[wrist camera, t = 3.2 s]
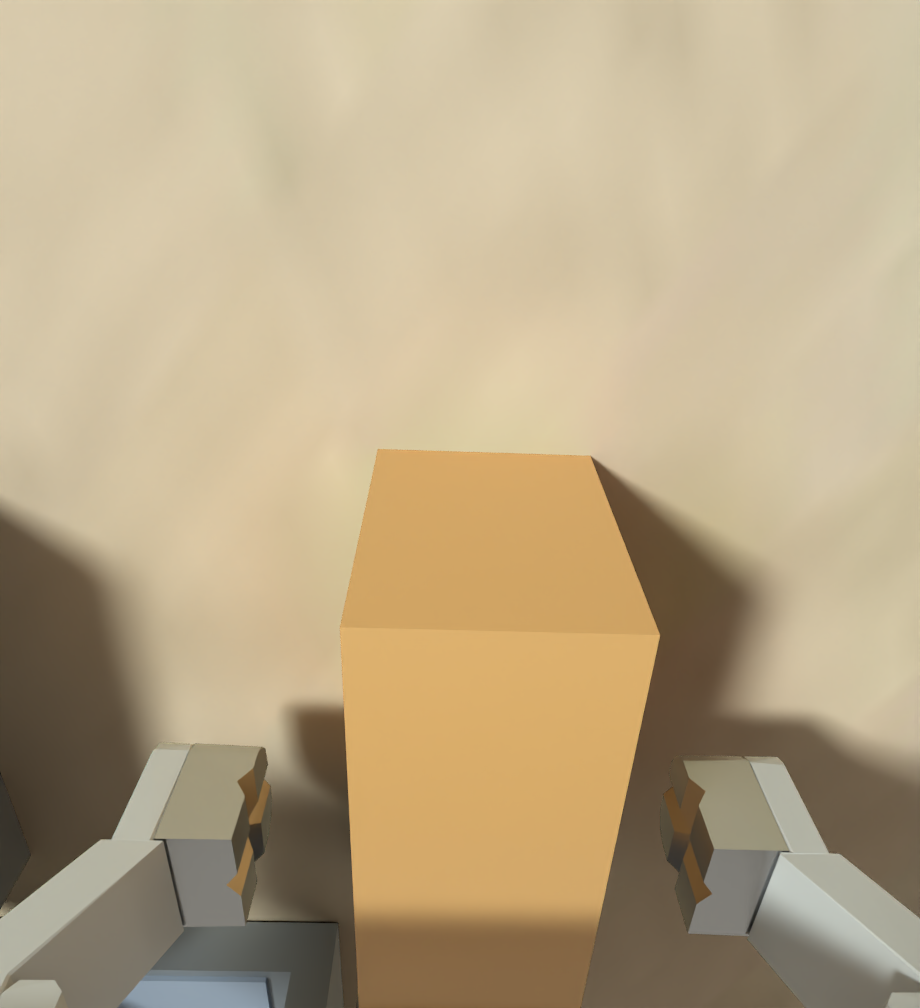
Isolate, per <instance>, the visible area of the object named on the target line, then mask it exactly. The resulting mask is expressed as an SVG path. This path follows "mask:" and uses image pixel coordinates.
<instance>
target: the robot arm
mask: <svg viewBox="0 0 920 1008" xmlns="http://www.w3.org/2000/svg"><path fill="white" fill-rule="evenodd" d="M267 766H268V762H267V755H266V749H265V748H264V747H257V746H236V745H216V744H184V743H160V744H159V745H158V746H157V747H156V748H155V749H154V750H153V751H152V753H151V755H150V758H149V760H148V762H147V764H146V766H145V768H144V770H143V773H142V775H141V777H140V779H139V781H138V783H137V785H136V787H135V790H134V792H133V794H132V796H131V798H130V800H129V802H128V805H127V807H126V809H125V811H124V813H123V815H122V817H121V820H120V822H119V824H118V826H117V828H116V830H115V832H114V835H113V837H112V839H100V840H99V841H98V842H97V843H95V844H94V845H93V846H92V847H90V848H89V849H88V850H87V851H85V852H84V853H83V854H81V855H80V856H79V857H78V858H76V859H75V860H74V861H73V862H71V863H70V864H69V865H68V866H66V867H65V868H64V869H63V870H61V871H60V872H59V873H57V874H56V875H55V876H54V877H52V878H51V879H50V880H49V881H47V882H46V883H45V884H44V885H42V886H41V887H40V888H39V889H37V890H36V891H35V892H33V893H32V894H31V895H30V896H28V897H27V898H26V899H25V900H23V901H22V902H21V903H20V904H18V905H17V906H16V907H15V908H13V909H12V910H11V911H9V912H8V913H7V914H6V915H4V916H3V917H2V918H1V919H0V1008H117V1007H118V1006H119V1005H120V1004H121V1003H122V1001H123V1000H124V999H125V998H126V997H127V996H128V995H129V993H130V992H131V991H132V990H133V989H134V988H135V987H136V985H137V984H138V983H139V982H140V981H141V980H142V978H143V977H144V976H145V975H146V974H147V973H148V972H149V970H150V969H151V968H152V967H153V966H154V965H155V964H156V962H157V961H158V960H159V959H160V958H161V957H162V955H163V954H164V953H165V952H166V951H167V950H168V949H169V947H170V946H171V945H172V944H173V943H174V942H175V941H176V939H177V938H178V937H179V936H180V935H181V934H182V932H183V931H184V929H183V927H216V926H246V923H247V919H248V915H249V911H250V907H251V903H252V900H253V896H254V892H255V888H256V884H257V875H256V868H255V861H256V860H257V859H258V858H259V857H260V856H261V855H262V854H263V853H264V852H265V848H266V844H267V840H268V835H269V829H270V821H271V814H272V795H271V786H270V785H269V784H268V783H267V782H266V781H265V780H264V777H265V773H266V770H267ZM669 776H670V779H671V782H672V786H673V787H672V788H670V789H669V790H668V791H667V792H665V793H664V794H663V799H662V803H661V808H660V831H661V837H662V844H663V848H664V851H665V855H666V859H667V861H668V862H669V863H670V864H671V865H672V866H673V867H674V868H675V869H676V870H677V871H678V872H679V875H678V879H677V883H676V887H675V891H676V894H677V898H678V901H679V905H680V908H681V912H682V915H683V918H684V922H685V925H686V929H687V932H688V934H710V935H732V936H748V939H747V940H748V941H749V942H750V943H751V944H752V945H753V947H754V948H755V949H756V950H757V951H758V953H759V954H760V955H761V956H762V957H763V958H764V960H765V961H766V962H767V963H768V964H769V965H770V967H771V968H772V969H773V970H774V971H775V972H776V974H777V975H778V976H779V977H780V978H781V980H782V981H783V982H784V983H785V984H786V985H787V987H788V988H789V989H790V990H791V991H792V992H793V994H794V995H795V996H796V997H797V998H798V999H799V1001H800V1002H801V1003H802V1004H803V1005H804V1006H805V1008H920V918H919V917H918V916H916V915H915V914H914V913H913V912H911V911H910V910H909V909H908V908H906V907H905V906H904V905H903V904H901V903H900V902H899V901H898V900H896V899H895V898H894V897H893V896H892V895H890V894H889V893H888V892H887V891H885V890H884V889H883V888H882V887H880V886H879V885H878V884H877V883H875V882H874V881H873V880H872V879H870V878H869V877H868V876H867V875H865V874H864V873H863V872H862V871H861V870H859V869H858V868H857V867H856V866H854V865H853V864H852V863H851V862H849V861H848V860H847V859H846V858H844V857H843V856H842V855H841V854H833V853H829V851H828V849H827V847H826V845H825V843H824V841H823V840H822V838H821V836H820V834H819V832H818V830H817V828H816V826H815V824H814V822H813V820H812V818H811V816H810V814H809V812H808V810H807V808H806V806H805V804H804V802H803V800H802V798H801V796H800V794H799V792H798V790H797V789H796V787H795V785H794V783H793V781H792V779H791V777H790V775H789V773H788V771H787V769H786V767H785V765H784V763H783V762H782V761H781V760H780V759H779V758H778V757H753V756H743V757H740V756H695V755H676V756H675V758H674V759H673V760H672V763H671V766H670V770H669Z"/></svg>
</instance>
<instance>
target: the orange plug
mask: <svg viewBox="0 0 920 1008" xmlns="http://www.w3.org/2000/svg"><path fill="white" fill-rule="evenodd" d="M340 638H341V658H342V678H343V698H344V719H345V739H346V759H347V779H348V799H349V819H350V840H351V860H352V880H353V900H354V920H355V940H356V961H357V981H358V995H357V1004H356V1008H581V1004H582V999H583V995H584V990H585V985H586V981H587V976H588V971H589V966H590V962H591V957H592V952H593V948H594V943H595V938H596V934H597V929H598V924H599V920H600V915H601V910H602V906H603V901H604V896H605V891H606V887H607V882H608V877H609V873H610V868H611V863H612V859H613V854H614V849H615V845H616V840H617V835H618V831H619V826H620V821H621V816H622V812H623V807H624V802H625V798H626V793H627V788H628V784H629V779H630V774H631V770H632V765H633V760H634V756H635V751H636V746H637V741H638V737H639V732H640V727H641V723H642V718H643V713H644V709H645V704H646V699H647V695H648V690H649V685H650V681H651V676H652V671H653V667H654V662H655V657H656V652H657V648H658V643H659V638H660V633H659V631H658V628H657V626H656V623H655V621H654V618H653V615H652V613H651V610H650V608H649V605H648V603H647V600H646V597H645V595H644V592H643V590H642V587H641V585H640V582H639V580H638V577H637V574H636V572H635V569H634V567H633V564H632V562H631V559H630V556H629V554H628V551H627V549H626V546H625V544H624V541H623V538H622V536H621V533H620V531H619V528H618V526H617V523H616V520H615V518H614V515H613V513H612V510H611V508H610V505H609V502H608V500H607V497H606V495H605V492H604V490H603V487H602V485H601V482H600V479H599V477H598V474H597V472H596V469H595V467H594V464H593V461H592V459H591V456H577V455H546V454H514V453H483V452H452V451H421V450H389V449H378V451H377V456H376V461H375V465H374V470H373V475H372V480H371V484H370V489H369V494H368V498H367V503H366V508H365V512H364V517H363V522H362V526H361V531H360V536H359V540H358V545H357V550H356V554H355V559H354V564H353V569H352V573H351V578H350V583H349V587H348V592H347V597H346V601H345V606H344V611H343V615H342V620H341V625H340Z"/></svg>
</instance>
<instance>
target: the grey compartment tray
mask: <svg viewBox="0 0 920 1008" xmlns="http://www.w3.org/2000/svg"><path fill="white" fill-rule="evenodd" d="M0 919H1V918H0ZM183 929H184V931H183V932H182V934H181V935H180V936H179V937H178V938H177V939H176V941H175V942H174V943H173V944H172V945H171V946H170V947H169V949H168V950H167V951H166V952H165V953H164V954H163V955H162V957H161V958H160V959H159V960H158V961H157V962H156V964H155V965H154V966H153V967H152V968H151V969H150V970H149V972H148V973H147V974H146V975H145V976H144V977H143V978H142V980H141V981H140V982H139V983H138V984H137V985H136V987H135V988H134V989H133V990H132V991H131V992H130V993H129V995H128V996H127V997H126V998H125V999H124V1000H123V1001H122V1003H121V1004H120V1005H119V1006H118V1007H117V1008H344V1003H343V988H342V973H341V958H340V944H339V929H338V923H285V922H247V923H246V926H216V927H183Z"/></svg>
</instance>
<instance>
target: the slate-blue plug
mask: <svg viewBox="0 0 920 1008" xmlns="http://www.w3.org/2000/svg"><path fill="white" fill-rule="evenodd" d="M30 856H31V854H30V851H29V849H28V846H27V843H26V841H25V838H24V835H23V832H22V830H21V827H20V824H19V822H18V819H17V816H16V814H15V811H14V808H13V806H12V803H11V800H10V797H9V795H8V792H7V789H6V787H5V784H4V781H3V779H2V776H1V773H0V909H1V907H2V906H3V904H4V902H5V900H6V898H7V897H8V895H9V893H10V891H11V890H12V888H13V886H14V884H15V882H16V881H17V879H18V877H19V875H20V874H21V872H22V870H23V868H24V866H25V865H26V863H27V861H28V859H29V857H30Z"/></svg>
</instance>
